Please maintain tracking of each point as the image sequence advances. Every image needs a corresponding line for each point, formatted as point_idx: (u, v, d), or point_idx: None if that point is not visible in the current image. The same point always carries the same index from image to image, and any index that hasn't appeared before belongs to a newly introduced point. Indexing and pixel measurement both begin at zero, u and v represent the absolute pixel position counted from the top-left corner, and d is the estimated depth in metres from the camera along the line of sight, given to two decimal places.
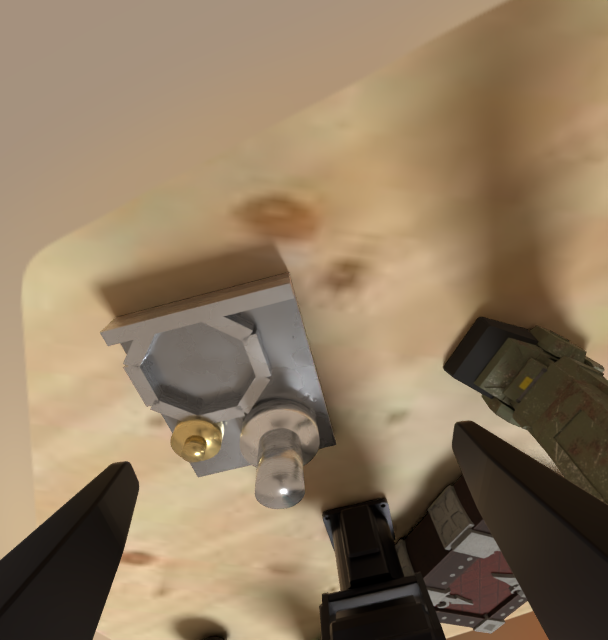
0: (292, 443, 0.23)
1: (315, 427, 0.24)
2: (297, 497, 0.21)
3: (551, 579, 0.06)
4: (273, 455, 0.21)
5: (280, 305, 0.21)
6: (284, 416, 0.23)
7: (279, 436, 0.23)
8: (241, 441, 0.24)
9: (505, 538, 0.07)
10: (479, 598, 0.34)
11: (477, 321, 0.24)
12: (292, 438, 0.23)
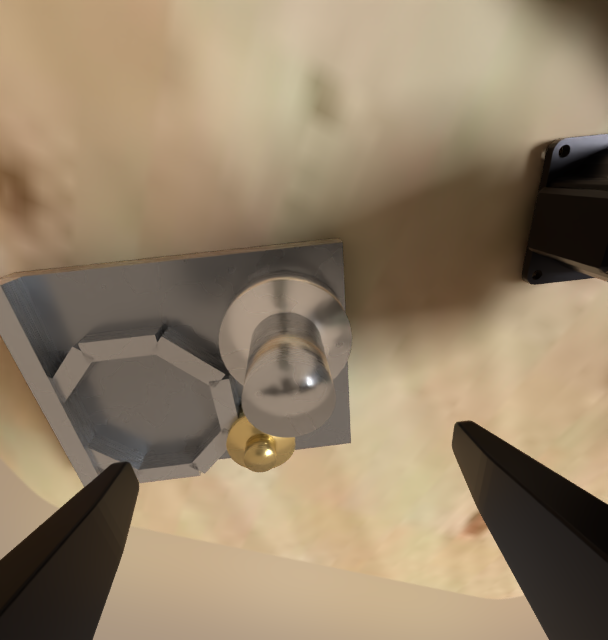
0: (257, 336, 0.13)
1: (263, 283, 0.14)
2: (310, 376, 0.11)
3: (551, 579, 0.06)
4: None
5: (49, 297, 0.14)
6: (226, 329, 0.14)
7: (250, 349, 0.14)
8: None
9: (505, 538, 0.07)
10: None
11: None
12: (259, 330, 0.13)
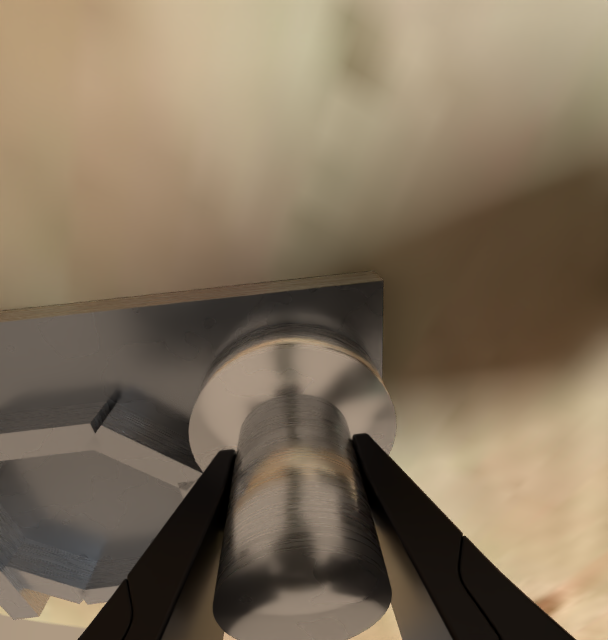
0: (247, 446, 0.08)
1: (258, 351, 0.08)
2: (346, 570, 0.05)
3: (403, 598, 0.06)
4: None
5: None
6: (200, 420, 0.09)
7: (236, 456, 0.09)
8: None
9: None
10: None
11: None
12: (251, 429, 0.08)
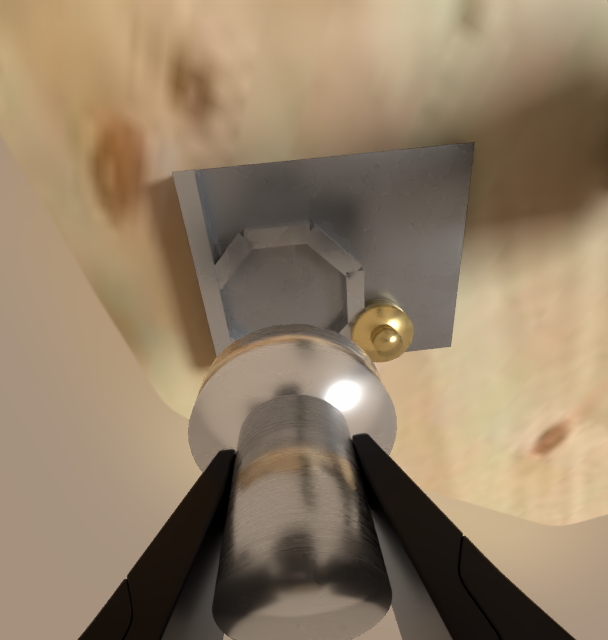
0: (247, 447, 0.08)
1: (258, 352, 0.08)
2: (346, 572, 0.05)
3: (403, 598, 0.06)
4: None
5: (218, 191, 0.17)
6: (199, 421, 0.09)
7: (236, 457, 0.08)
8: None
9: None
10: None
11: None
12: (250, 430, 0.08)
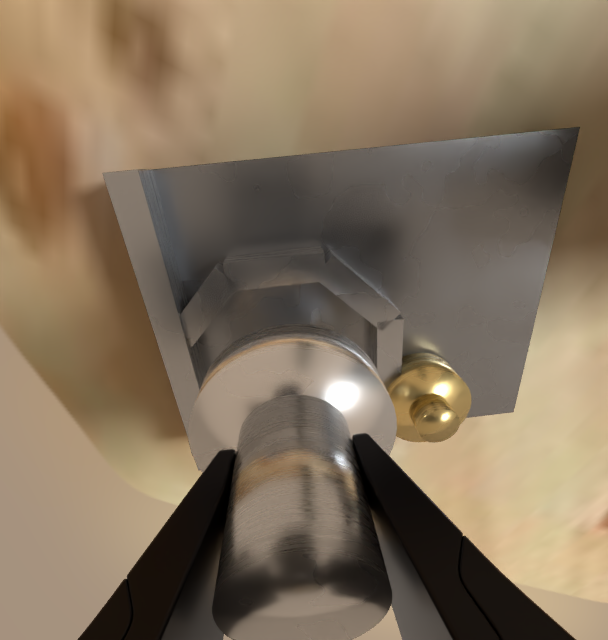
0: (247, 446, 0.08)
1: (258, 352, 0.08)
2: (347, 572, 0.05)
3: (403, 598, 0.06)
4: None
5: (183, 202, 0.11)
6: (199, 421, 0.09)
7: (236, 457, 0.08)
8: None
9: None
10: None
11: None
12: (250, 430, 0.08)
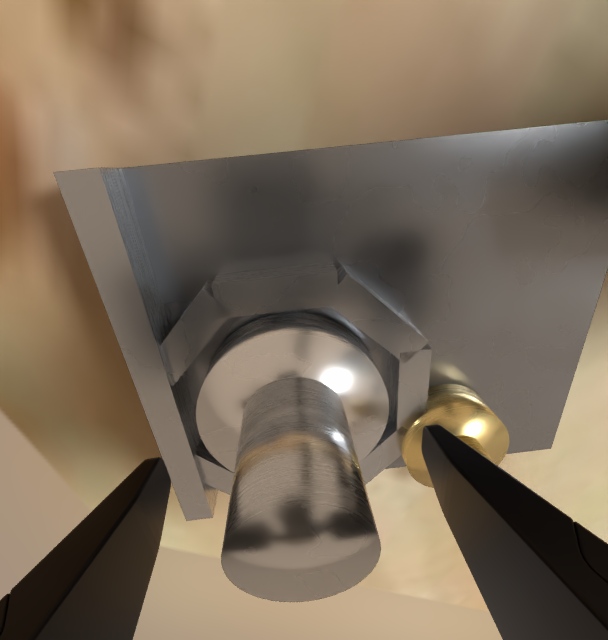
0: (250, 422, 0.08)
1: (261, 337, 0.09)
2: (340, 523, 0.06)
3: (506, 585, 0.06)
4: None
5: (163, 208, 0.09)
6: (206, 401, 0.10)
7: None
8: None
9: (466, 543, 0.07)
10: None
11: None
12: (254, 408, 0.09)
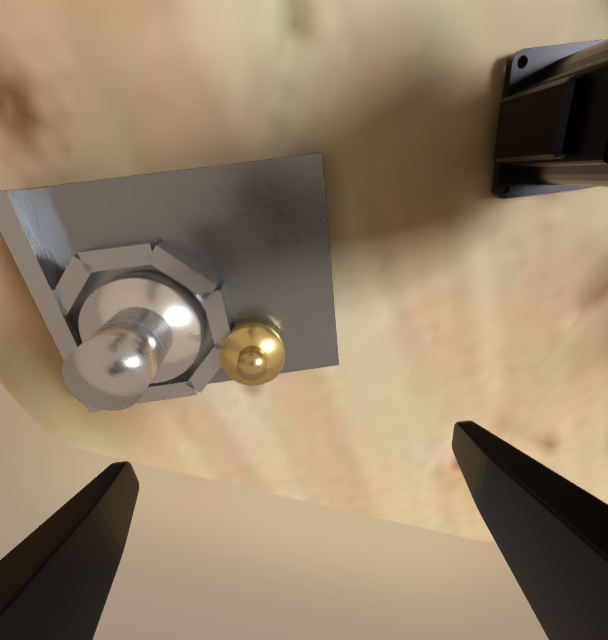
0: None
1: (110, 282, 0.16)
2: (116, 357, 0.13)
3: (551, 579, 0.06)
4: None
5: (50, 211, 0.16)
6: (84, 323, 0.16)
7: None
8: None
9: (505, 538, 0.07)
10: None
11: None
12: None
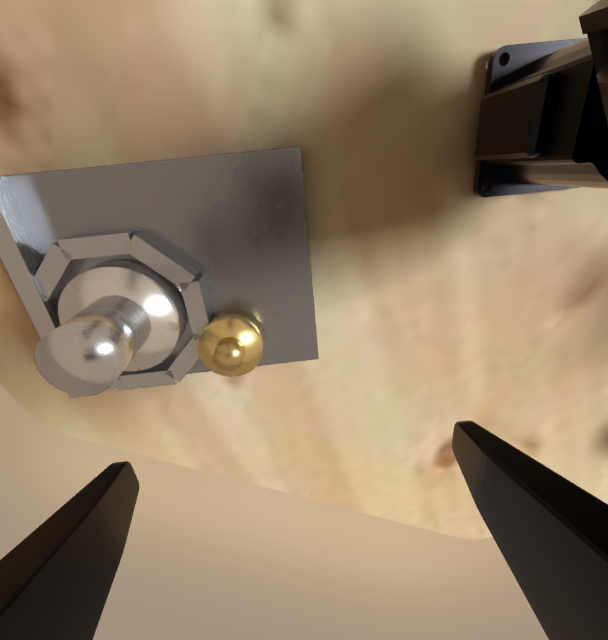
0: None
1: (89, 270, 0.16)
2: (87, 343, 0.13)
3: (551, 579, 0.06)
4: None
5: (31, 198, 0.16)
6: (63, 310, 0.17)
7: None
8: None
9: (505, 538, 0.07)
10: None
11: None
12: None
